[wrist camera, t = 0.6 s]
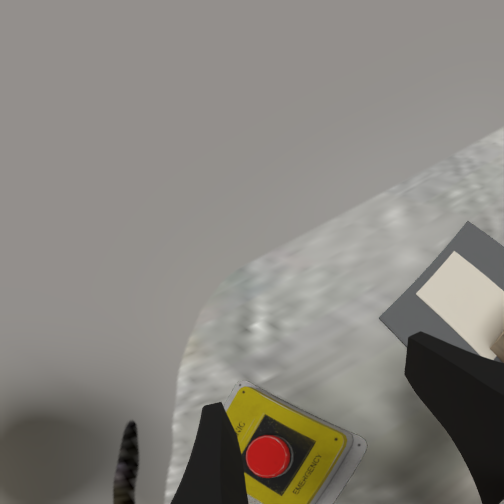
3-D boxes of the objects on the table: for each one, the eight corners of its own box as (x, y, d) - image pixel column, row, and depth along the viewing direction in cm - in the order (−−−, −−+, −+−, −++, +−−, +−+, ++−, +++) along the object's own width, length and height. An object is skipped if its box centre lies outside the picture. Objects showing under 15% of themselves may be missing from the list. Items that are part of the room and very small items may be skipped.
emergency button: (301, 536, 15) (175, 445, 25) (319, 524, 18) (202, 448, 28) (364, 442, 18) (219, 368, 28) (372, 440, 21) (242, 378, 31)
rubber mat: (599, 338, 12) (601, 336, 12) (513, 466, 12) (514, 466, 12) (467, 222, 26) (467, 219, 26) (379, 318, 27) (378, 316, 26)
